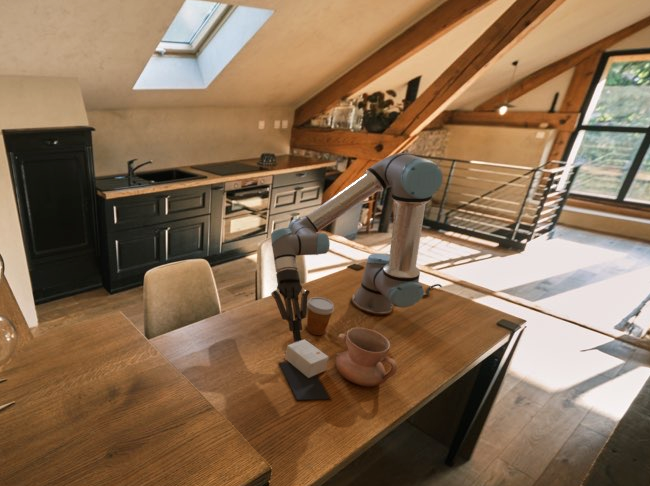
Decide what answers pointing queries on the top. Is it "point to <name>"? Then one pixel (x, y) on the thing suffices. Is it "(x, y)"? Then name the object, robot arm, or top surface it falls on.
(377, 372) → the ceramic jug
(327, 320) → the disposable coffee cup
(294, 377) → the mat
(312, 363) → the small box
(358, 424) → the top surface
